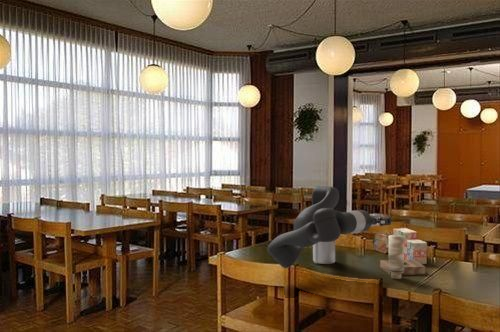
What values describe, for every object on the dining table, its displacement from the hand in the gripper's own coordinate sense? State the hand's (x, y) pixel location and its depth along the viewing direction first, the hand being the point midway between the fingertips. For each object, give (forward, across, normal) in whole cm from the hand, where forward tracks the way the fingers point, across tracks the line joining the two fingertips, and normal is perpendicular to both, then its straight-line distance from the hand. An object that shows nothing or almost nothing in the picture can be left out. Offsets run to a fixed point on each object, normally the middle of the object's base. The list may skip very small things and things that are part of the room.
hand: (379, 218), depth 171 cm
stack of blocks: (+47, -12, -22) cm, 53 cm away
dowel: (+14, 0, -23) cm, 27 cm away
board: (+25, -4, -23) cm, 34 cm away
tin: (+52, -28, -21) cm, 63 cm away
